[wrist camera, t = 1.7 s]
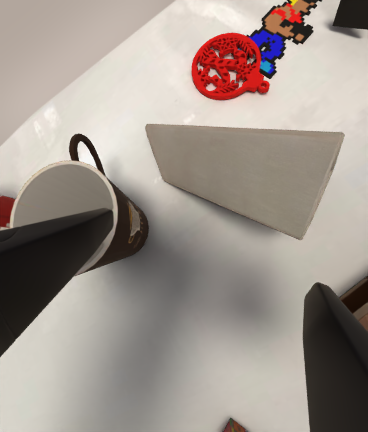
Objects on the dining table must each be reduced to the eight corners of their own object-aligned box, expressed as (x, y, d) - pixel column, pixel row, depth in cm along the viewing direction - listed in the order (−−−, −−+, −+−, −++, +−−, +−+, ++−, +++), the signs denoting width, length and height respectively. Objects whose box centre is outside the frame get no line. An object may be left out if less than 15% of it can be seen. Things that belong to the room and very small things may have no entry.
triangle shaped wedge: (81, 165, 21) (297, 249, 11) (89, 98, 19) (347, 127, 10) (172, 176, 33) (312, 220, 24) (181, 136, 32) (334, 166, 22)
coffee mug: (142, 278, 24) (90, 298, 14) (78, 252, 26) (-8, 254, 16) (177, 181, 25) (150, 138, 15) (113, 163, 27) (52, 113, 17)
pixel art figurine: (230, 52, 26) (296, -20, 26) (230, 55, 27) (295, -16, 27) (270, 78, 25) (339, 2, 25) (269, 80, 25) (337, 6, 25)
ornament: (179, 81, 27) (246, 119, 25) (178, 77, 26) (246, 116, 24) (218, 27, 27) (289, 61, 24) (218, 22, 26) (291, 57, 24)
